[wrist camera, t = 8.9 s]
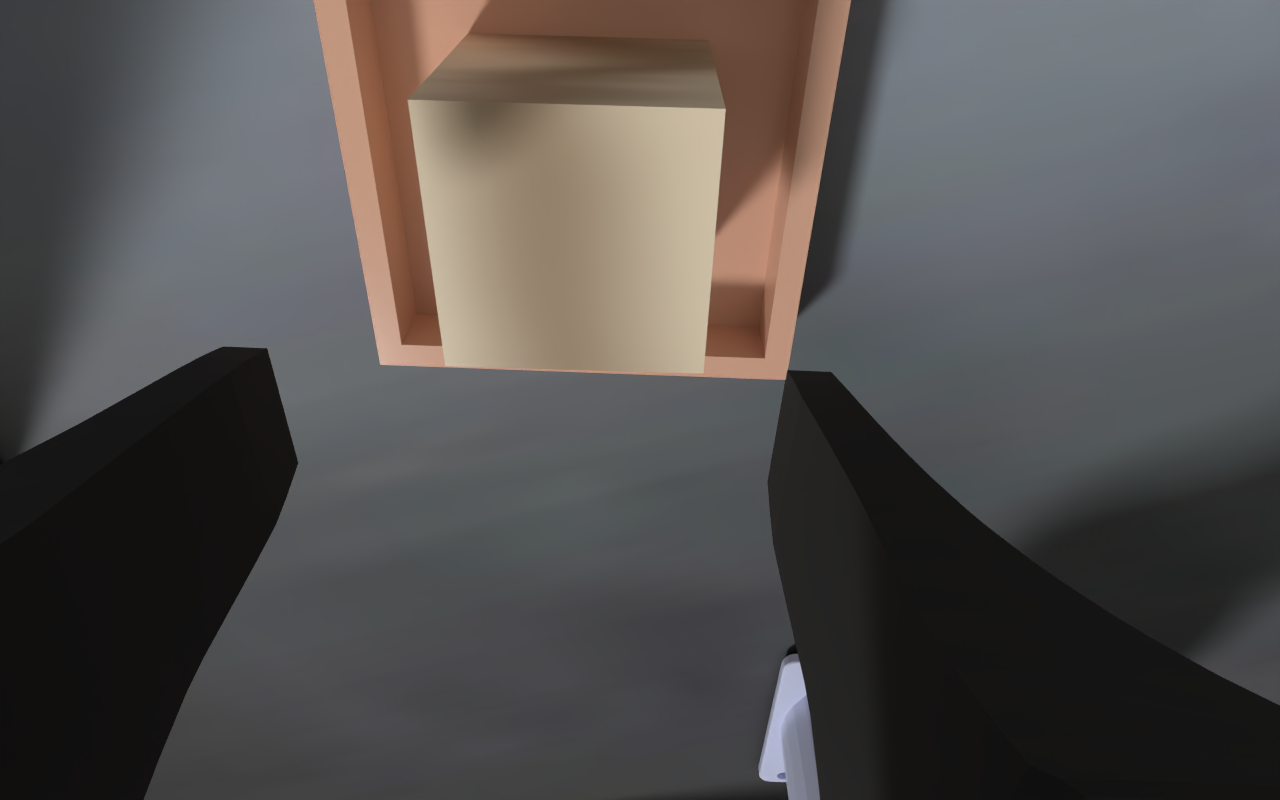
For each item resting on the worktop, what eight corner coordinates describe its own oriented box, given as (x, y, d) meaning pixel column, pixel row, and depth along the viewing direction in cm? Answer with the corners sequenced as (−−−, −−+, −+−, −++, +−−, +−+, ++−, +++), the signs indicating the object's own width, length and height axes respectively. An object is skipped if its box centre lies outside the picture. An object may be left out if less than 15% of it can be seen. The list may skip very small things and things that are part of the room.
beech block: (708, 39, 17) (725, 108, 13) (693, 260, 20) (703, 373, 15) (467, 33, 17) (407, 99, 13) (488, 254, 20) (445, 366, 15)
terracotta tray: (845, -103, 16) (867, -95, 14) (776, 337, 21) (786, 379, 20) (329, -126, 15) (291, -120, 14) (401, 323, 21) (380, 364, 20)
